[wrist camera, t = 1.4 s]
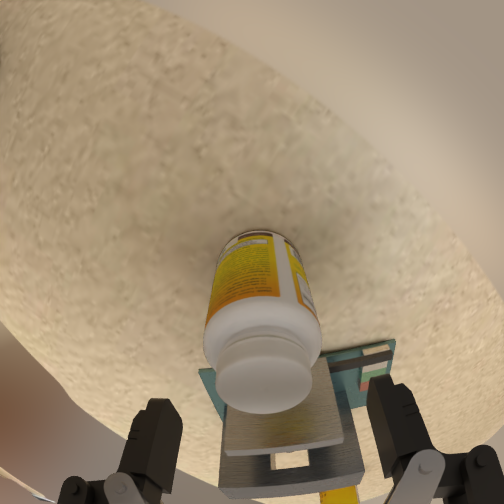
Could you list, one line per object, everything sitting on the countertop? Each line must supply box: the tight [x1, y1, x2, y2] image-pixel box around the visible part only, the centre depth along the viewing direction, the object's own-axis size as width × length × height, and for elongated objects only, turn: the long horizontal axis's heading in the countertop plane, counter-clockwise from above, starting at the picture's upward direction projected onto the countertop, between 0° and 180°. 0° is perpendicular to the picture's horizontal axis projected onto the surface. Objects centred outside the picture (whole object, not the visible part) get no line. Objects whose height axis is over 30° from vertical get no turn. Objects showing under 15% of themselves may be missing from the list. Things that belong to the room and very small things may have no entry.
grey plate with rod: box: [224, 350, 393, 456], centre depth 22 cm, size 8×14×8 cm, turn 100°
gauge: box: [198, 339, 396, 499], centre depth 22 cm, size 10×18×10 cm, turn 100°
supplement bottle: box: [203, 231, 322, 414], centre depth 16 cm, size 6×6×10 cm
